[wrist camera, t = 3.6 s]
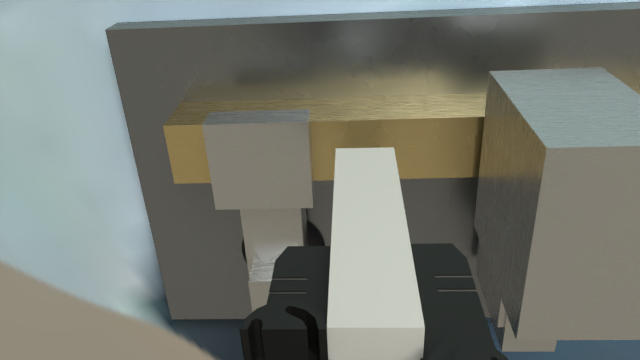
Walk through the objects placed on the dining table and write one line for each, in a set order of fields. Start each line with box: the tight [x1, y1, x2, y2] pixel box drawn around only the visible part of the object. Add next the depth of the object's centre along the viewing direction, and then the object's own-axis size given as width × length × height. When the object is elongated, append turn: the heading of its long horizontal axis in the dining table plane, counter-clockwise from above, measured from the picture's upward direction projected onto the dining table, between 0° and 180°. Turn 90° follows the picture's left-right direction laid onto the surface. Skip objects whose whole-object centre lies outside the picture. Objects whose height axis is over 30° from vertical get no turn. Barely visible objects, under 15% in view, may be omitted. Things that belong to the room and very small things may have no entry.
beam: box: [163, 89, 640, 312], centre depth 18 cm, size 7×25×3 cm, turn 93°
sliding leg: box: [474, 67, 640, 351], centre depth 16 cm, size 8×3×7 cm, turn 3°
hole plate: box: [106, 2, 640, 319], centre depth 20 cm, size 12×28×1 cm, turn 93°
